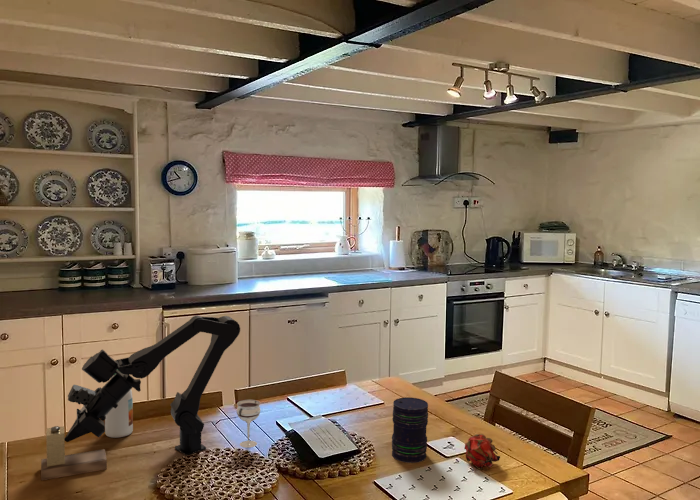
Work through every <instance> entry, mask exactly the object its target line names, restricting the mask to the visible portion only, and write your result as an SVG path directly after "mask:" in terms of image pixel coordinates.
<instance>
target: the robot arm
mask: <svg viewBox="0 0 700 500" xmlns="http://www.w3.org/2000/svg"><path fill="white" fill-rule="evenodd" d="M199 333H206V334H210V335H211V336H210V337H211V338H210V342H209V346H208V347H207V350H206V351H205V352H204V355H203V357H202V359H201V361H200V363H199V364H198V367H197V369H196V371H195V372H194V375H193V377H192V378H191V380H190V382H189V384H188V386H187V388H186V389H185V390H184V391H183V392H181V393H180V392H178V391H177V392H176V394H175V396H174V399H173V400H172V402H171V403H170V407H171V408H170V414H171V417H172V419H173V421H174V422H175V424H176V425H177V426H178V427H179V444H178V445H175V446H174V449H175V450H177V451H178V452H180V453H181V454H183V455H185V456H188V455H192V454H194V453H197V452H200V451H204V450H206V449H207V447H206V446H205V445H203V444H202V431H203V429H204V427H205V423H204V422H203V420H202V419H201V417H200V416H199V414H198V413H199V410H200V403H201V398H202V395H203V393H204V391H205V389H206V387H207V386H208V384H209V381H210V380H211V378H212V376H213V374H214V372H215V370H216V368H217V366H218V364H219V362H220V360H221V358H222V356H223V355H224V353H225V351H227V349H228V348H229V347H230V346H231V345H233V343H234V342H235V341H236V340H237V338H238V336H239V335H240V333H241V325H240V324H239V323H238V321H237V320H235V319H233V318H232V317H231V316H228V315H222V316H220V317H214V316H200V315H199V314H198V315H193V316H192V317H191V318H190V319H189V320H188V321H186V322H185V323H184V324H182V325H180V326H179V327H178V328H176V329H175V330H173V331H172V332H170V333H169V334H167V336H165V337H164V338H162V339H161V340H160V341H158V342H156V343H155V344H153V345H151V346H150V345H149V346H148V347H144V348H141V349H140V350H137V351H136V352H134V353H132V354H130V355H129V356H128V357H124V358H123V357H122V358H120V359H116V360H115V359H114V358H113V357H111V356H110V354H108V353H107V352H106V351H105V350H104V349H101V350H99V351H98V352H95V354H94V355H91V356H90V357H89V358H88V359H87V360H86V361H85V363H84V364H83V365H82V368H81V371H83V372H84V373H86V374H87V375H88V376H89V377H91V379H93V380H95V381H96V382H97V383H98V384H100V383H103V384H104V383H105V384H104V385H103V386H102V387H97V388H96V389H95V390H92V389H90V388H87V387H84V386H82V385H81V386H80V385H77V384H73V385H72V386H71V388H70V390H69V392H68V394H67V401H69V402H70V403H76V404H78V405H82V408H80V409H79V408H76V419H75V420H74V423H72V425H71V427H70V429H69V431H68V432H67V433H66V434H65V436H64V441H65V442H66V443H69V442H71V441H74V440H76V439H78V438H81V437H83V436H85V435H87V434H90V433H91V434H93V435H94V436H95V437H97V438H100V437H101V436H102V435H103V434H104V433H105V419H106V415H107V414H108V413H109V412H110V410H111V409H112V408H113V407H114V408H116V407H117V406H118V402H119V401H120V400H121V399H122V398H123V397H124V396H125V395H126V394H127V393H128V392H129V391H130V390H132V389H134V390H135V391H136V392H139V393H140V392H141V383H142V381H141V379H144V378H146V377H149V375H150V374H151V373H152V372H153V371H154V370H155V369H156V368H157V367H158V366H159V365H160V364H161V362H162V360H164V358H166V357H168V355H170V354H171V353H172V352H174V351H175V350H177V349H178V348H179V347H181V346H182V345H184V344H185V343H187V342H188V341H189V340H191V339H192V338H194V337H195V336H196V335H198V334H199ZM117 369H118V370H117ZM119 371H120V372H119ZM115 373H116V374H115ZM114 374H115V375H114ZM113 375H114V376H113ZM112 376H113V377H112Z"/></svg>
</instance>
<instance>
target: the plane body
mask: <svg viewBox="0 0 700 500" xmlns="http://www.w3.org/2000/svg"><path fill="white" fill-rule="evenodd" d="M107 463H108V460H107V454H106V449H104V448H103V449H97V450H90V451H85V452H78V453H73V454H72V453H71V454H65V464H61V465H55V466H49V467H47V457H46V458H42V459H41V464H40V466H41V467H40V481H45V480H51V479H57V478H64V477H68V476H69V477H70V476H75V475H80V474H86V473H91V472H92V473H93V472H98V471H104V470H108V469H107V468H108V465H107Z"/></svg>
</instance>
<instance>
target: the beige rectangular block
mask: <svg viewBox="0 0 700 500" xmlns="http://www.w3.org/2000/svg"><path fill="white" fill-rule="evenodd" d="M45 433H46V437H45V438H46V458H47V467H49V466H55V465H61V464H65V455H66V453H65V451H66V450H65V442H66V441H65V440H64V438H65V426H64V425H63V426H58V425H55V426H52V427H49V428H48V427H47V428H46V432H45Z"/></svg>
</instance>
